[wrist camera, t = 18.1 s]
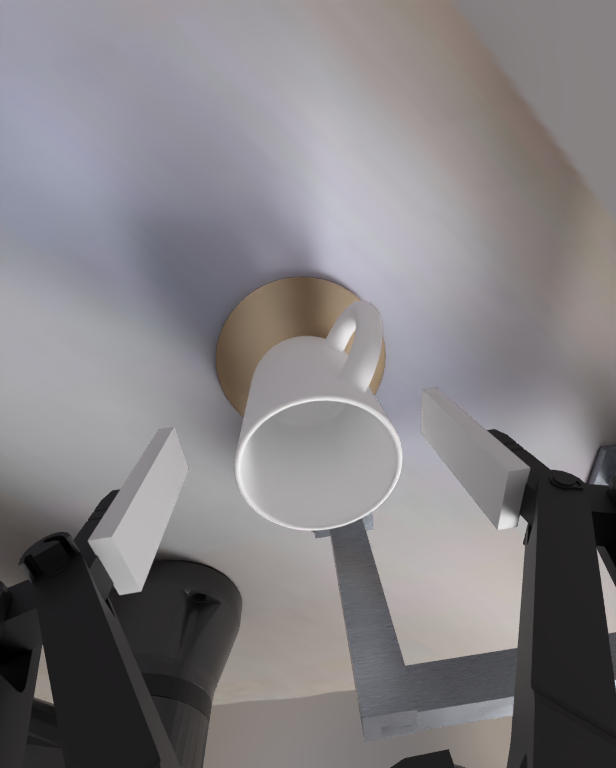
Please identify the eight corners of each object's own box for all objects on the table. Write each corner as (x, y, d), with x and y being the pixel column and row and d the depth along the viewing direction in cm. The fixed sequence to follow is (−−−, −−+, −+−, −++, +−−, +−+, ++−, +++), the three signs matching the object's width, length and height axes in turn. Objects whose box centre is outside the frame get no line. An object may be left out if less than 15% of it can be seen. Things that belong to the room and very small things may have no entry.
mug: (299, 263, 21) (314, 280, 11) (401, 314, 23) (485, 365, 13) (237, 407, 25) (210, 507, 16) (328, 440, 27) (352, 546, 18)
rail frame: (314, 533, 32) (340, 756, 18) (308, 489, 30) (332, 710, 16) (639, 484, 33) (902, 663, 19) (659, 438, 31) (980, 605, 17)
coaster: (237, 442, 27) (236, 446, 26) (197, 289, 22) (195, 290, 21) (384, 421, 27) (386, 425, 27) (382, 265, 22) (384, 265, 21)
